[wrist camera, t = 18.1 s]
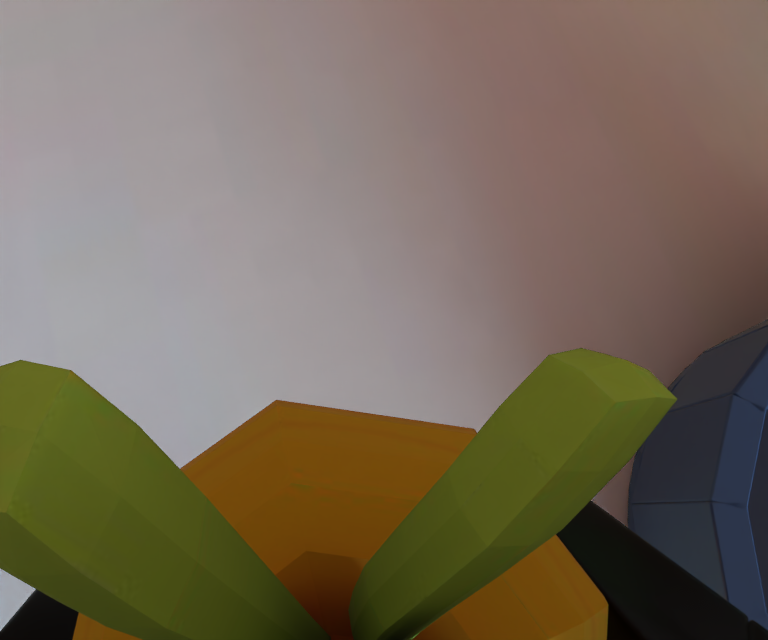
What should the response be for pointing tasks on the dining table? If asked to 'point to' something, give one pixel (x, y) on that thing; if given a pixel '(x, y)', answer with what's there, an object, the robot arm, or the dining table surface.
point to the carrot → (319, 512)
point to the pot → (712, 473)
